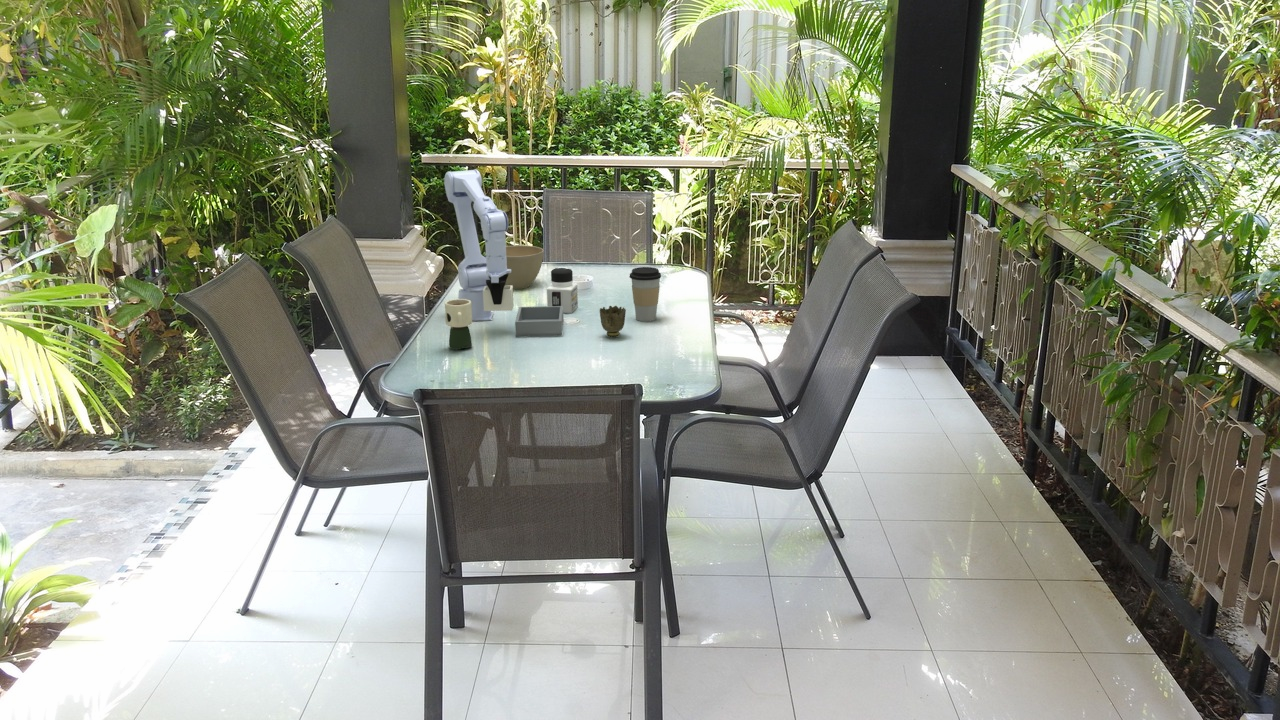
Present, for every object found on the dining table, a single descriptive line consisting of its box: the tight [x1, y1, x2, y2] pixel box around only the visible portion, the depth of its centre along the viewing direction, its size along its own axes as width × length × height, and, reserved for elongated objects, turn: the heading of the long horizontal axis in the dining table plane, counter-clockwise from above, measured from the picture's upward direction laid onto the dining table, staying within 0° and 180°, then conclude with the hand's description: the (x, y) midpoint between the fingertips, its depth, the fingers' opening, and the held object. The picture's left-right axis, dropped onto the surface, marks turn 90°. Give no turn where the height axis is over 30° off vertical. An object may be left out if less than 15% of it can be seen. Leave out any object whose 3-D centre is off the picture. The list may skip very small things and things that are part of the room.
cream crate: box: [483, 285, 515, 312], centre depth 305 cm, size 8×5×6 cm
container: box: [546, 267, 579, 314], centre depth 328 cm, size 8×8×13 cm
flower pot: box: [505, 245, 544, 290], centre depth 357 cm, size 18×18×12 cm
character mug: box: [444, 298, 473, 350], centre depth 292 cm, size 11×7×13 cm, turn 13°
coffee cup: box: [629, 266, 662, 323], centre depth 317 cm, size 9×9×15 cm
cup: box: [599, 305, 627, 338], centre depth 301 cm, size 8×7×8 cm
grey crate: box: [514, 305, 564, 338], centre depth 310 cm, size 13×16×4 cm
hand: (498, 301), depth 305 cm, fingers closed on cream crate, 5 cm apart
